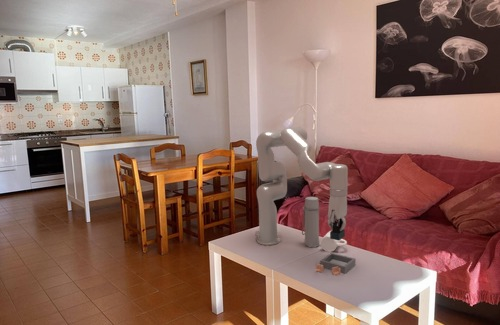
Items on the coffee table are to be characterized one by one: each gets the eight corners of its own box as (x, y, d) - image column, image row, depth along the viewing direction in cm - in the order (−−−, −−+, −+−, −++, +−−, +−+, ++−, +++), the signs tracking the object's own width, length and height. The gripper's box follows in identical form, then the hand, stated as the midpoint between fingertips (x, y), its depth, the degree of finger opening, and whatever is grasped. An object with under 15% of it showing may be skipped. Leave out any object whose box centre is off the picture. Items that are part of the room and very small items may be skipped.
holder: (320, 266, 171) (320, 260, 171) (331, 258, 180) (331, 252, 179) (345, 273, 164) (345, 267, 163) (355, 264, 172) (355, 258, 172)
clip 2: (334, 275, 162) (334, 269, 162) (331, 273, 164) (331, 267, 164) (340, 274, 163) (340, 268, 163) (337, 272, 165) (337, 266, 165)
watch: (332, 233, 175) (331, 210, 173) (348, 237, 170) (347, 213, 168) (326, 237, 171) (325, 214, 169) (342, 241, 166) (341, 217, 164)
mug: (320, 250, 190) (320, 235, 189) (326, 244, 199) (326, 229, 198) (344, 254, 185) (344, 238, 184) (349, 247, 194) (349, 232, 192)
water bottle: (321, 243, 199) (321, 197, 195) (315, 248, 193) (315, 200, 189) (305, 241, 204) (305, 195, 200) (298, 245, 198) (298, 198, 194)
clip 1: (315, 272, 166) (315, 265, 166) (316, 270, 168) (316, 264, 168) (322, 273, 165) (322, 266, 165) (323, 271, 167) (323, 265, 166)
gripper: (338, 188, 175) (338, 226, 178) (322, 195, 163) (321, 236, 165) (354, 190, 171) (353, 229, 174) (338, 197, 158) (337, 239, 161)
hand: (338, 232), depth 170 cm, fingers closed on watch, 3 cm apart
